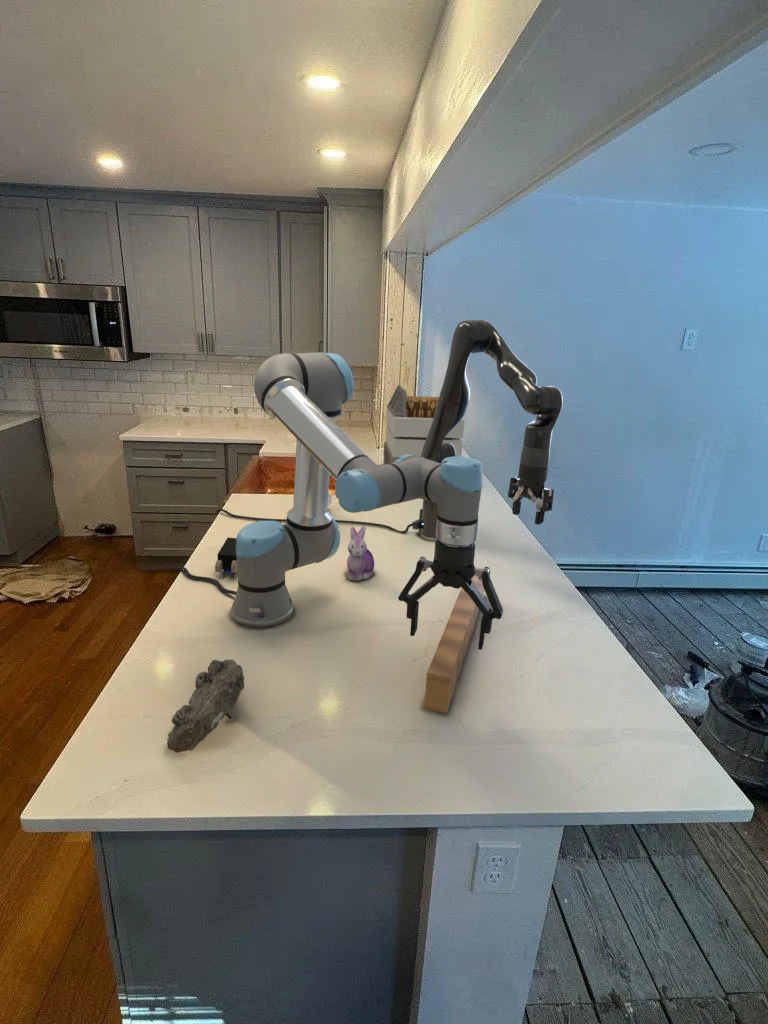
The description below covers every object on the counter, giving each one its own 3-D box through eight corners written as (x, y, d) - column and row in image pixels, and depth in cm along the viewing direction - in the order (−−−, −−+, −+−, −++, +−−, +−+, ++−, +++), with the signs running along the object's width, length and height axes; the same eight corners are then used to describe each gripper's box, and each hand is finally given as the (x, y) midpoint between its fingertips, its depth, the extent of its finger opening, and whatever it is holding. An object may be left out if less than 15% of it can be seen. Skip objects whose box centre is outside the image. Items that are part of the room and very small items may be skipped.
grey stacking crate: (382, 463, 289) (386, 382, 275) (445, 464, 293) (451, 384, 279) (390, 482, 257) (394, 392, 243) (460, 483, 261) (468, 394, 247)
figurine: (352, 584, 162) (353, 535, 156) (338, 570, 170) (339, 523, 165) (381, 578, 166) (384, 531, 161) (366, 565, 174) (368, 519, 169)
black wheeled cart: (238, 584, 162) (249, 557, 175) (236, 562, 158) (247, 536, 172) (215, 584, 161) (227, 556, 175) (212, 561, 158) (225, 535, 171)
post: (467, 593, 160) (470, 566, 157) (483, 596, 159) (486, 569, 156) (424, 708, 113) (426, 672, 110) (446, 713, 112) (450, 677, 109)
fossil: (192, 660, 117) (244, 628, 112) (224, 691, 120) (276, 661, 115) (142, 746, 98) (202, 712, 93) (182, 779, 101) (242, 748, 96)
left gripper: (385, 537, 106) (381, 636, 113) (522, 558, 99) (508, 662, 106) (396, 524, 112) (392, 618, 119) (525, 543, 106) (512, 641, 113)
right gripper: (505, 457, 155) (499, 513, 161) (544, 470, 144) (536, 529, 149) (525, 454, 159) (518, 509, 165) (564, 467, 148) (556, 525, 153)
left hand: (446, 639), depth 113 cm, fingers open, 13 cm apart
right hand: (526, 519), depth 157 cm, fingers open, 8 cm apart
